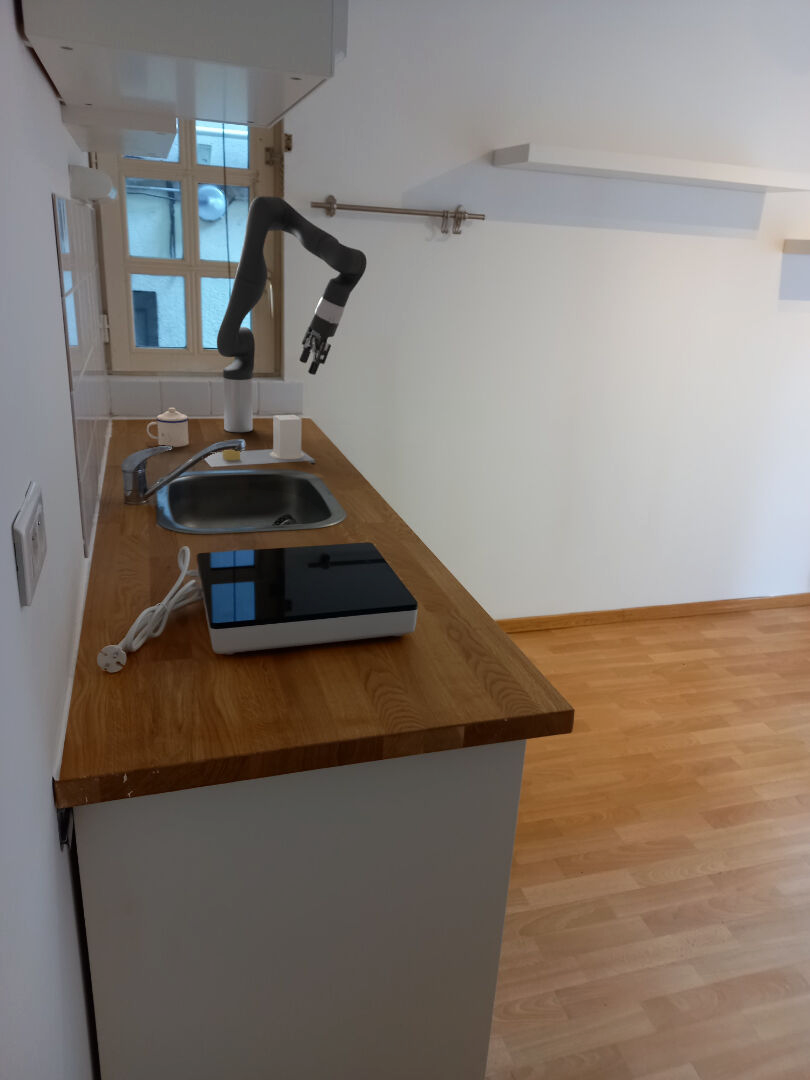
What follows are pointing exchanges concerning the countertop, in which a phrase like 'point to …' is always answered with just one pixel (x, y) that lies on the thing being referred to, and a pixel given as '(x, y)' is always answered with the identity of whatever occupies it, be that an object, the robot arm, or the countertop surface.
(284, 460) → the board
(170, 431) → the teacup with lid
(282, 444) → the white tall block
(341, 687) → the countertop surface
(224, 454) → the block
